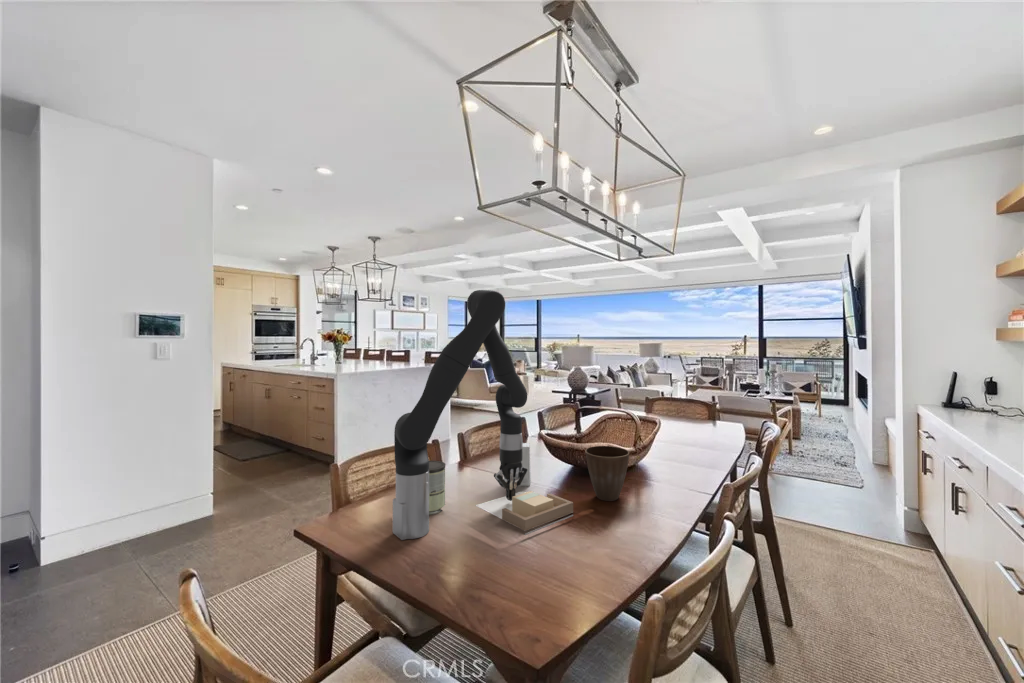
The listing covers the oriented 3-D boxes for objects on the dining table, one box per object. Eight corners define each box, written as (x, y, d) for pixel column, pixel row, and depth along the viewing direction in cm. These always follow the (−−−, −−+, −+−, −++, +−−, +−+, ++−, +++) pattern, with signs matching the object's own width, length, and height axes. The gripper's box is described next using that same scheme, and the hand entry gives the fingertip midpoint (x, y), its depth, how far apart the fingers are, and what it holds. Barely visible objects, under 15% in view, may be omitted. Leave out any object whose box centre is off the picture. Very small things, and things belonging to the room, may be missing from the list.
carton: (534, 521, 121) (534, 506, 121) (512, 511, 129) (512, 496, 129) (553, 514, 127) (553, 499, 127) (530, 504, 134) (530, 490, 134)
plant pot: (618, 509, 134) (618, 459, 134) (577, 498, 143) (577, 452, 143) (635, 495, 146) (635, 450, 146) (596, 486, 155) (596, 443, 155)
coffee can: (406, 510, 132) (406, 466, 133) (428, 500, 141) (428, 458, 141) (430, 517, 127) (430, 471, 127) (451, 506, 136) (452, 463, 136)
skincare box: (530, 483, 158) (530, 442, 158) (529, 489, 151) (530, 447, 152) (508, 483, 159) (509, 442, 159) (507, 489, 152) (507, 446, 152)
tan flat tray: (525, 535, 115) (525, 520, 115) (475, 509, 134) (475, 496, 134) (573, 516, 128) (573, 502, 128) (521, 494, 147) (521, 482, 147)
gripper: (502, 452, 128) (502, 508, 128) (533, 445, 137) (533, 498, 137) (487, 447, 134) (487, 501, 134) (518, 441, 143) (518, 492, 143)
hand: (510, 499), depth 135 cm, fingers closed
